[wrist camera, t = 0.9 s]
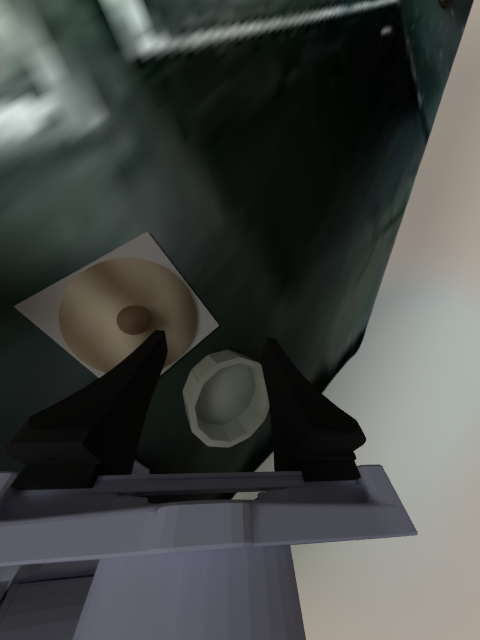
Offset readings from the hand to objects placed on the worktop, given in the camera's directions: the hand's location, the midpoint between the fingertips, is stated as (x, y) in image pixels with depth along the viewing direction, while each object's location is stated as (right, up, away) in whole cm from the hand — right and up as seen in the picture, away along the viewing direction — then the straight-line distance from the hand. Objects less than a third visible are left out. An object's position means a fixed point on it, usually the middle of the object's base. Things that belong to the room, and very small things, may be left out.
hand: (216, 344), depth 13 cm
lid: (-11, +2, +9) cm, 14 cm away
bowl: (-1, -9, +15) cm, 18 cm away
